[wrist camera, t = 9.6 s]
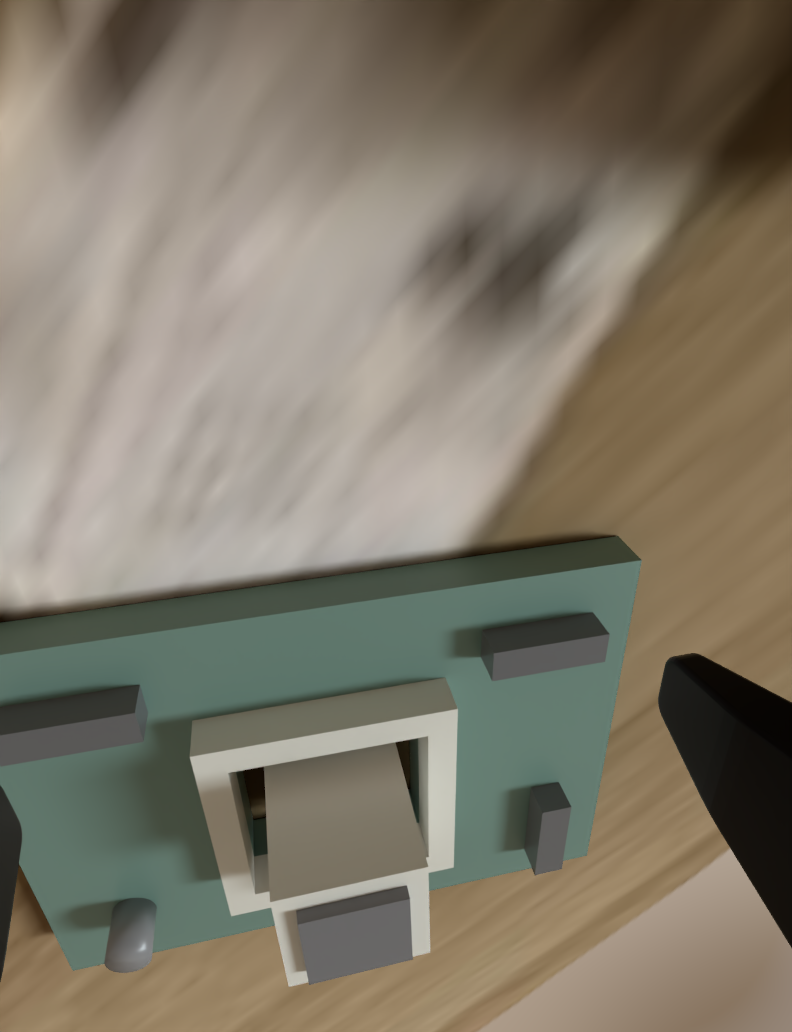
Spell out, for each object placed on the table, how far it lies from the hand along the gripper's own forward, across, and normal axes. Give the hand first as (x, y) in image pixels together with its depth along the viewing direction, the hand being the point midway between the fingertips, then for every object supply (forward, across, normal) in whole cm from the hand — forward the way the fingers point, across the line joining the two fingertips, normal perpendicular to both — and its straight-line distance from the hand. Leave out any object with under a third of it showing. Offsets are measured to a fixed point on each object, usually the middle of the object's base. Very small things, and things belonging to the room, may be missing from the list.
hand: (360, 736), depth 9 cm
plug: (+12, 0, +14) cm, 18 cm away
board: (+12, 0, +14) cm, 18 cm away
